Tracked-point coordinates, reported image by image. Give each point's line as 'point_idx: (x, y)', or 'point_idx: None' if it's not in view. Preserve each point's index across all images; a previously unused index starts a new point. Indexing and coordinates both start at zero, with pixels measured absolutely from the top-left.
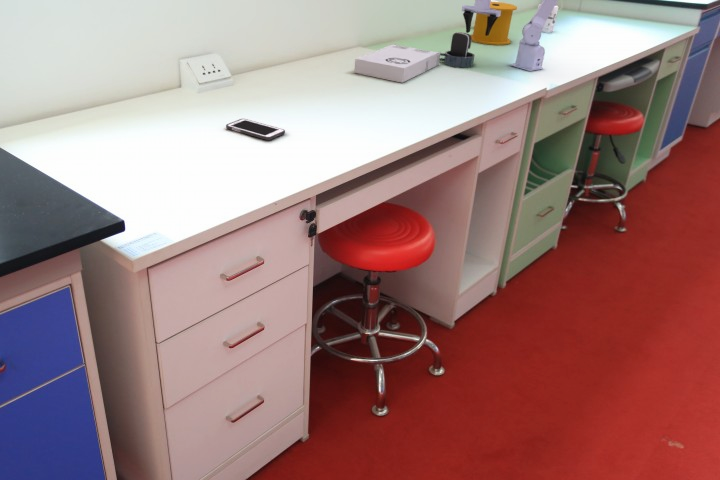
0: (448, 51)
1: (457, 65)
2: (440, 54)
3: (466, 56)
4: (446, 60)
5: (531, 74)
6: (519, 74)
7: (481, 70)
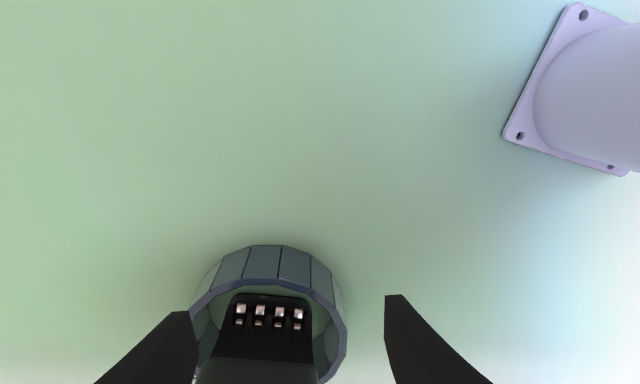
0: None
1: None
2: None
3: (311, 349)
4: None
5: (624, 218)
6: (567, 260)
7: None
